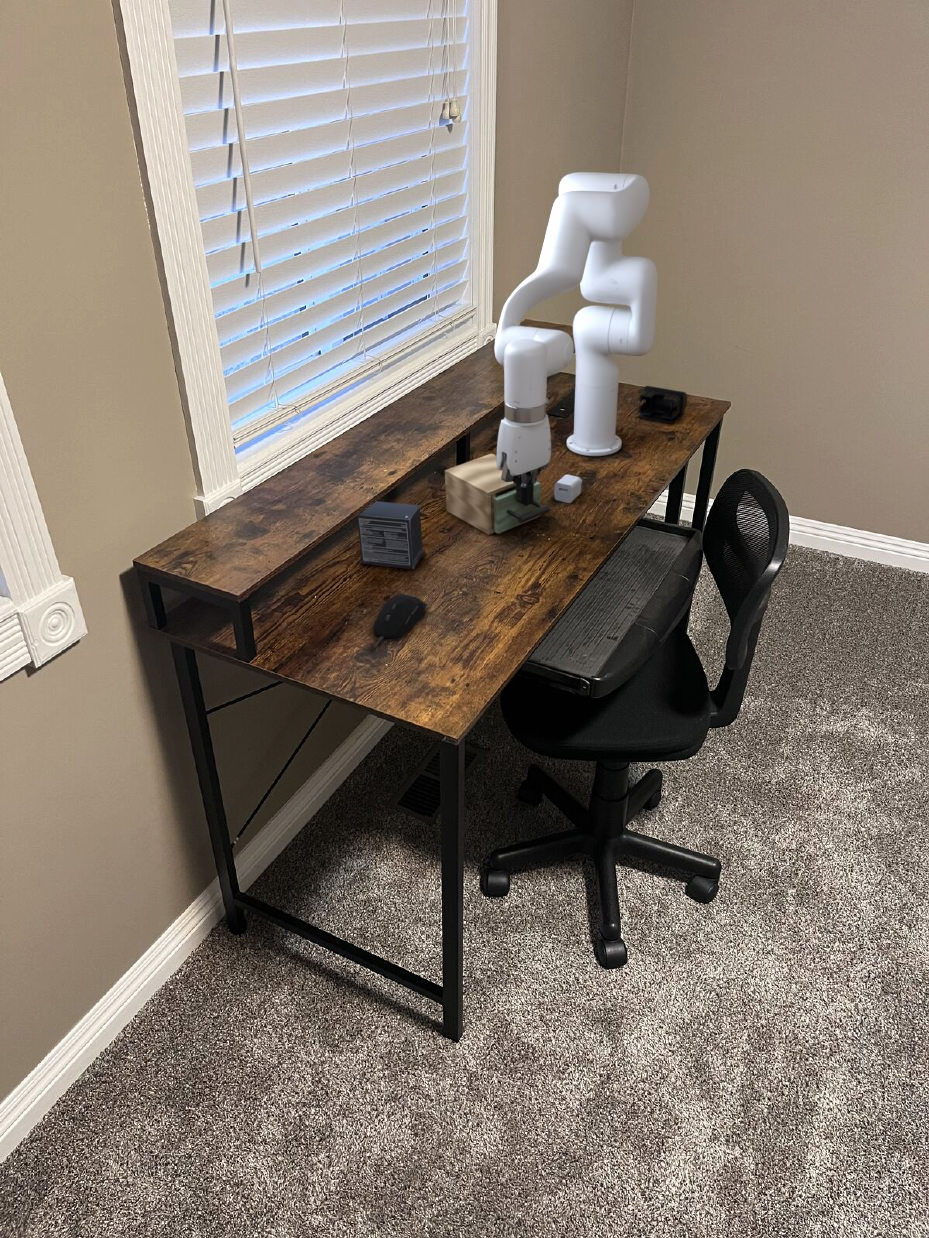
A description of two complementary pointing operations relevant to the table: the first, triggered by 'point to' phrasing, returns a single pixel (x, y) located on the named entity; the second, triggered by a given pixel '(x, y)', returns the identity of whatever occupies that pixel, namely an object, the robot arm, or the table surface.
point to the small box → (390, 535)
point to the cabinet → (474, 491)
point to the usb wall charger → (568, 488)
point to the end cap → (662, 404)
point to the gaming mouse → (398, 616)
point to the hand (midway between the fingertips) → (524, 502)
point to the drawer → (514, 509)
